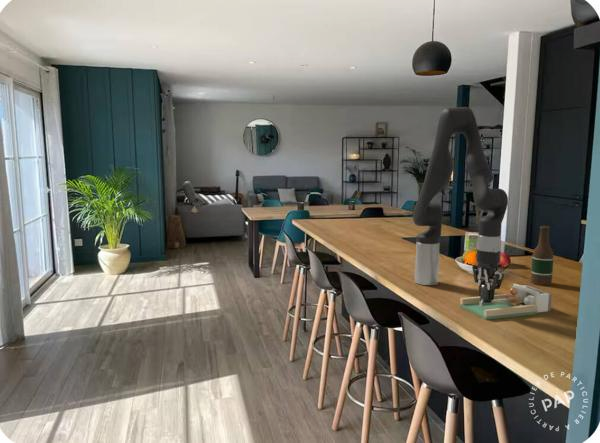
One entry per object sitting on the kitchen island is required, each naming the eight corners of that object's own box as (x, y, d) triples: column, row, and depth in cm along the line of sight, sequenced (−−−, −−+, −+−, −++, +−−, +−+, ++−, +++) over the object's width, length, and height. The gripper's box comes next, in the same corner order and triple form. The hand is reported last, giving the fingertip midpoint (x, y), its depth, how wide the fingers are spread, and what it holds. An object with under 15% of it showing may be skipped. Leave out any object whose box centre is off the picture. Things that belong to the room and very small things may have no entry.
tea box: (467, 265, 229) (468, 234, 227) (463, 260, 239) (464, 231, 236) (499, 266, 226) (501, 235, 224) (494, 261, 236) (496, 232, 234)
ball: (532, 296, 167) (528, 306, 168) (524, 292, 166) (519, 303, 166) (541, 299, 164) (536, 310, 164) (532, 295, 162) (528, 306, 162)
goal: (511, 302, 170) (513, 283, 169) (526, 301, 172) (527, 282, 171) (535, 312, 159) (536, 292, 158) (550, 311, 161) (552, 291, 160)
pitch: (460, 306, 166) (460, 298, 165) (508, 301, 171) (508, 293, 171) (485, 319, 152) (486, 310, 152) (537, 314, 158) (537, 305, 157)
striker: (475, 305, 162) (476, 283, 161) (510, 301, 166) (512, 280, 165) (485, 309, 157) (486, 287, 156) (521, 306, 161) (522, 284, 160)
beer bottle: (526, 282, 197) (529, 225, 194) (540, 280, 200) (544, 224, 197) (541, 286, 190) (545, 228, 187) (556, 284, 193) (560, 227, 190)
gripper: (466, 245, 163) (463, 293, 165) (493, 253, 150) (490, 305, 152) (484, 244, 165) (482, 291, 167) (513, 252, 152) (509, 303, 154)
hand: (486, 298), depth 160 cm, fingers closed on striker, 3 cm apart
